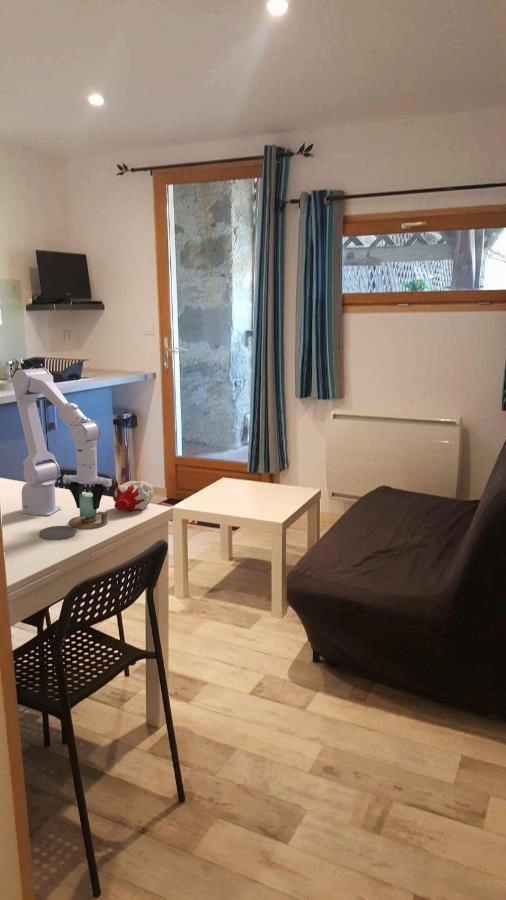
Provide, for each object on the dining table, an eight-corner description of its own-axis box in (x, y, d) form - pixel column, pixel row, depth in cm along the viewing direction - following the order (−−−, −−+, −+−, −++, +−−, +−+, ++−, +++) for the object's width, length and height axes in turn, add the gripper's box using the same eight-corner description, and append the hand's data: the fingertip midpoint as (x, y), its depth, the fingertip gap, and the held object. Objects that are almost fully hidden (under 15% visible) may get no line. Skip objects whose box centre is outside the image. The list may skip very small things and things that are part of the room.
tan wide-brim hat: (61, 527, 189) (61, 515, 188) (79, 515, 200) (79, 504, 199) (97, 530, 187) (97, 519, 186) (114, 518, 198) (113, 507, 197)
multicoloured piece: (155, 502, 213) (139, 522, 199) (123, 499, 215) (104, 519, 201) (154, 477, 210) (137, 495, 196) (121, 474, 212) (102, 492, 198)
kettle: (84, 511, 196) (83, 491, 194) (99, 513, 195) (98, 492, 193) (74, 518, 190) (73, 497, 188) (89, 520, 189) (89, 498, 187)
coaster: (32, 537, 180) (31, 535, 180) (50, 526, 189) (50, 524, 189) (65, 541, 178) (65, 539, 178) (82, 529, 187) (82, 527, 187)
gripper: (57, 464, 187) (58, 509, 190) (104, 468, 184) (105, 514, 187) (68, 458, 194) (70, 502, 197) (114, 462, 191) (115, 507, 194)
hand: (88, 507), depth 192 cm, fingers closed on kettle, 5 cm apart
